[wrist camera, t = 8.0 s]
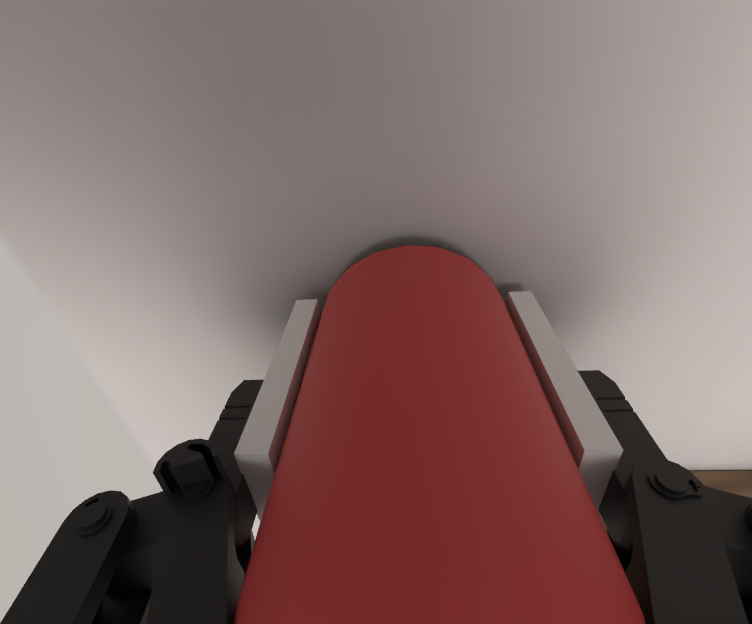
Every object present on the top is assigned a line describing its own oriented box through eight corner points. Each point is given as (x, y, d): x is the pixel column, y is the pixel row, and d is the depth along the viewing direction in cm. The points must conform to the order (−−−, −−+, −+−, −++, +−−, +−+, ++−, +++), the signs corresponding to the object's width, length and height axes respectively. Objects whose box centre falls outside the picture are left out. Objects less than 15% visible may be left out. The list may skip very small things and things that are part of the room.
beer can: (400, 409, 17) (406, 896, 7) (286, 311, 15) (58, 842, 5) (536, 330, 15) (833, 901, 5) (427, 195, 12) (569, 795, 2)
